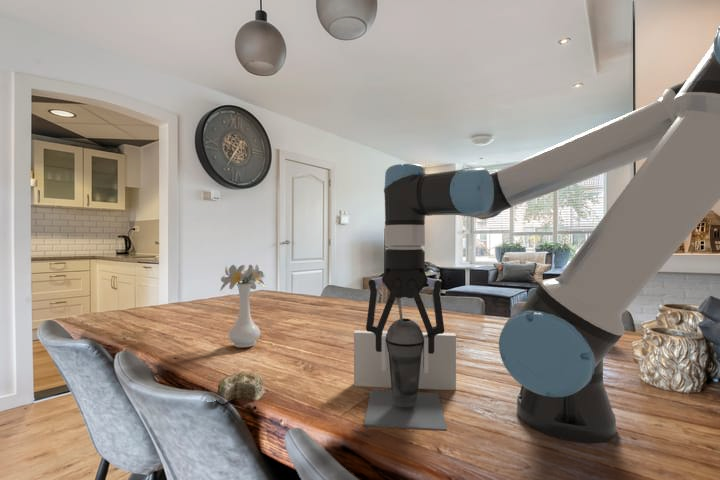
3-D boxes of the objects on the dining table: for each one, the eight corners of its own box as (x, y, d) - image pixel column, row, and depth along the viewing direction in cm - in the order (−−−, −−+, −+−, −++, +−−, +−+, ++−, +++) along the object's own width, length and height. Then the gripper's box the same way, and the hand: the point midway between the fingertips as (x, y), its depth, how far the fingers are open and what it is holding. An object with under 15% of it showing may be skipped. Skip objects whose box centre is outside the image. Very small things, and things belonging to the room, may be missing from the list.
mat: (438, 397, 74) (438, 393, 74) (446, 433, 60) (446, 429, 60) (370, 393, 75) (370, 389, 75) (363, 428, 62) (363, 424, 62)
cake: (214, 392, 77) (214, 367, 77) (262, 384, 81) (262, 360, 81) (215, 412, 68) (215, 384, 68) (269, 403, 72) (269, 376, 72)
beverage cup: (423, 412, 63) (424, 299, 63) (383, 408, 65) (383, 298, 65) (424, 394, 71) (424, 293, 70) (387, 391, 72) (388, 292, 72)
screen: (454, 387, 78) (454, 333, 78) (456, 391, 76) (456, 335, 76) (355, 383, 81) (355, 330, 81) (353, 386, 79) (353, 332, 79)
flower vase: (263, 334, 122) (263, 261, 121) (266, 351, 104) (266, 265, 104) (222, 338, 118) (222, 262, 117) (219, 355, 100) (218, 266, 100)
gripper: (455, 247, 70) (456, 364, 70) (354, 247, 72) (354, 360, 73) (462, 248, 63) (462, 379, 63) (349, 248, 65) (349, 374, 65)
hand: (404, 369), depth 68 cm, fingers closed on beverage cup, 7 cm apart
